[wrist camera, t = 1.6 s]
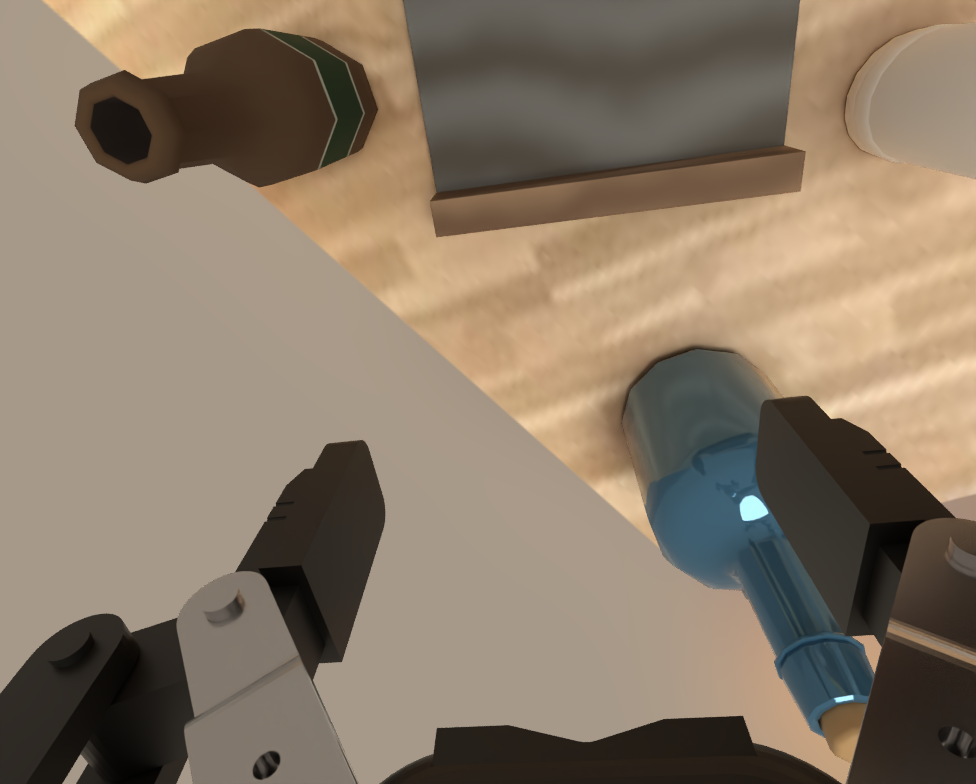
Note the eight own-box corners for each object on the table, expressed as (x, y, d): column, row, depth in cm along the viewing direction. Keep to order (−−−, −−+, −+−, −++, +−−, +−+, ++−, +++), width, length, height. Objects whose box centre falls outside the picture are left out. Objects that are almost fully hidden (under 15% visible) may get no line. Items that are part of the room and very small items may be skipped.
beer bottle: (252, 93, 41) (-37, 112, 20) (324, 12, 38) (77, -65, 17) (329, 182, 43) (148, 281, 22) (402, 112, 41) (272, 150, 20)
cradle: (391, -82, 35) (374, -102, 31) (810, -165, 32) (850, -198, 28) (444, 222, 44) (436, 237, 40) (774, 180, 41) (800, 191, 38)
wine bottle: (591, 396, 51) (659, 726, 25) (724, 313, 47) (975, 612, 21) (668, 490, 56) (792, 849, 30) (796, 423, 51) (1072, 779, 25)
